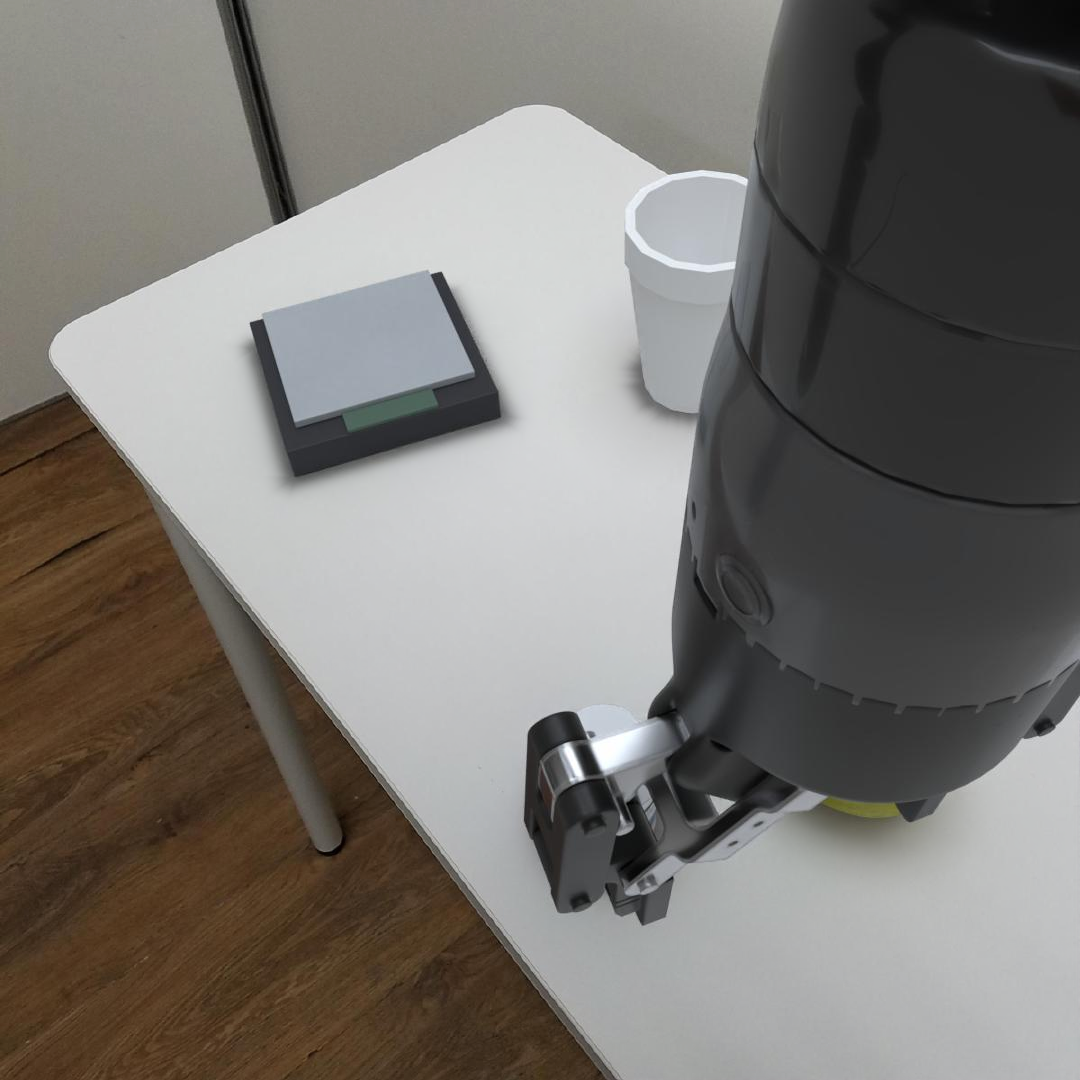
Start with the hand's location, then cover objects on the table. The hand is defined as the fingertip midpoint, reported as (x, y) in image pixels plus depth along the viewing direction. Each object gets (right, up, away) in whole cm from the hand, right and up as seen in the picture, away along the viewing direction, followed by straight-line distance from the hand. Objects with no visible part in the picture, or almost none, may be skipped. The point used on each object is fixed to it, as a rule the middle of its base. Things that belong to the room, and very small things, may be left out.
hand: (771, 839), depth 33 cm
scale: (-18, +20, +43) cm, 51 cm away
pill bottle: (-4, -5, +24) cm, 24 cm away
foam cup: (+3, +20, +42) cm, 46 cm away
